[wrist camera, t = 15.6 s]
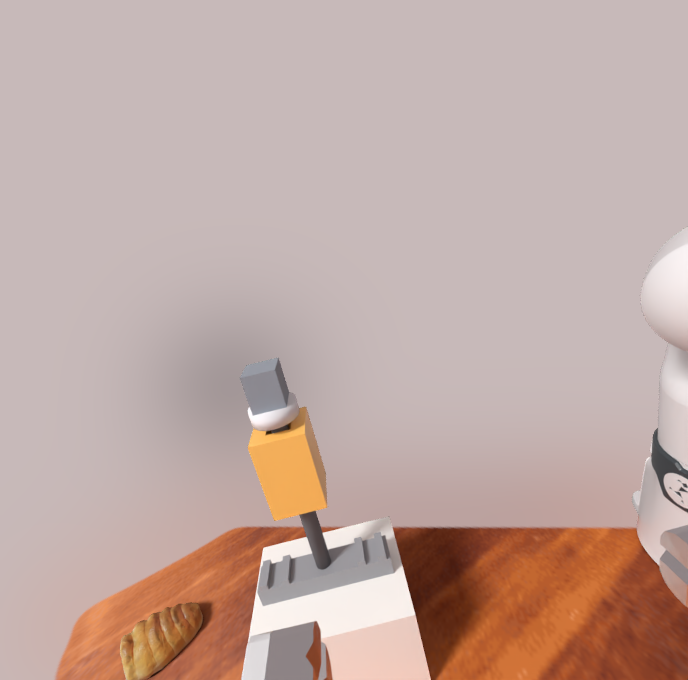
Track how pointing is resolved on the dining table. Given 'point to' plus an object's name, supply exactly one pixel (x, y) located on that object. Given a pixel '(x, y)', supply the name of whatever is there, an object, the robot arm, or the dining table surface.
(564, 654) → the dining table surface
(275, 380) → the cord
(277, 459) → the sleeve
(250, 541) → the dining table surface
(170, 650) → the pastry
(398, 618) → the comb base
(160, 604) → the dining table surface
